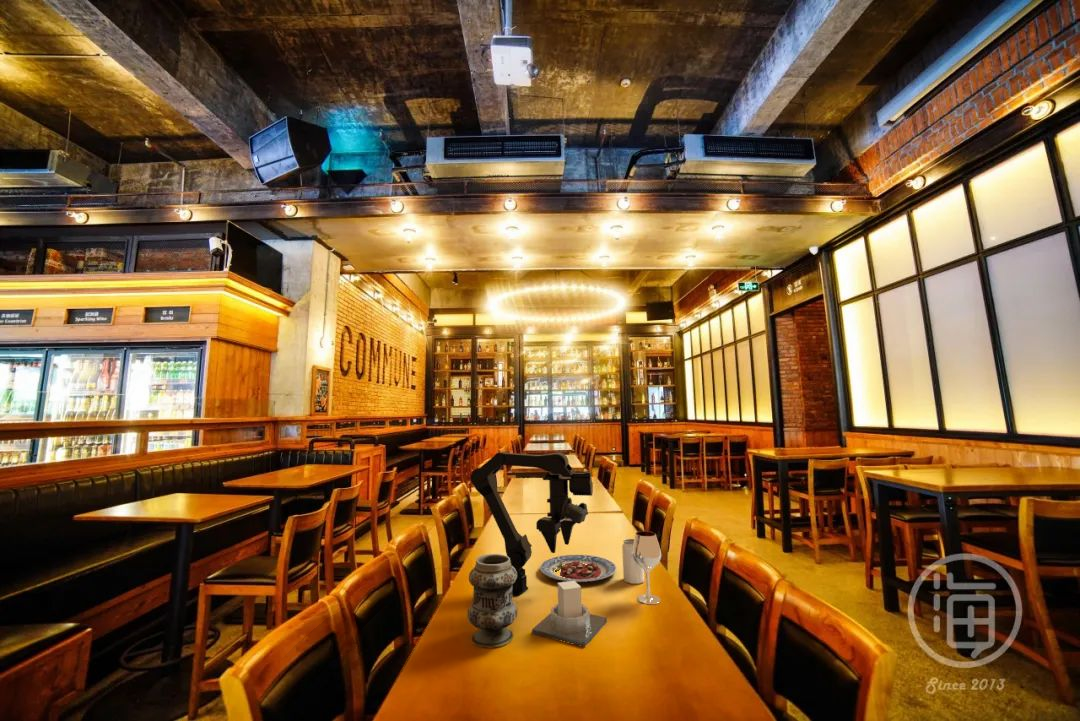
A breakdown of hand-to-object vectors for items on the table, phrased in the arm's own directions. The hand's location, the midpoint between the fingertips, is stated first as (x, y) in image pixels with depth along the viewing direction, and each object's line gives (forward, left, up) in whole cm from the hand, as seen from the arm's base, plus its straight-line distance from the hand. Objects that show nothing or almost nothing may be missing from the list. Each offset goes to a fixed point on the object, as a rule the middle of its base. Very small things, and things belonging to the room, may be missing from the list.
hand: (560, 548), depth 128 cm
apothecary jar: (-4, -30, -13) cm, 33 cm away
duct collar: (+11, -17, -13) cm, 24 cm away
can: (+16, +20, -13) cm, 29 cm away
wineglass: (+24, +8, -13) cm, 29 cm away
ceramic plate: (-3, +19, -14) cm, 24 cm away
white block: (+11, -17, -12) cm, 23 cm away
